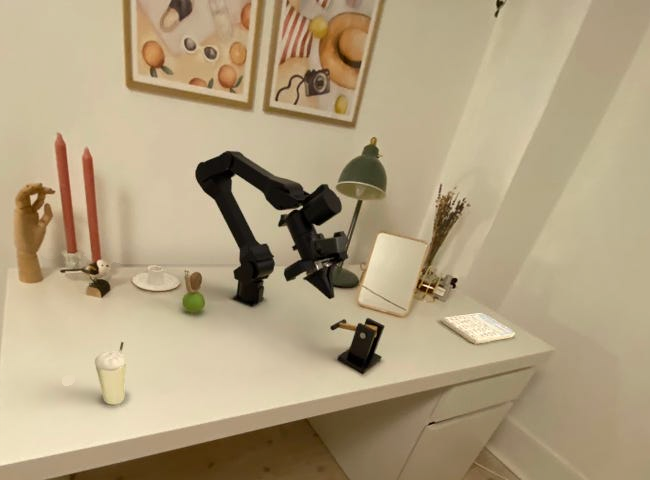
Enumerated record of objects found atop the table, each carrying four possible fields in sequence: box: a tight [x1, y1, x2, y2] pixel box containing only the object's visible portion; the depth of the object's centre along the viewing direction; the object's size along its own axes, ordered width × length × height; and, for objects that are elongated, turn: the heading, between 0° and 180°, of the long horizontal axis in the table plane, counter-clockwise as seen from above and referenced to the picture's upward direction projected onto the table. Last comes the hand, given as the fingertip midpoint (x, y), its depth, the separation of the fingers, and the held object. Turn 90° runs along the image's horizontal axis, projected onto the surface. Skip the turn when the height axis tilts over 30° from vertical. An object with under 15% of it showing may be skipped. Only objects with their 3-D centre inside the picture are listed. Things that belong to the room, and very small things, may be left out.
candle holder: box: [132, 264, 181, 292], centre depth 102 cm, size 12×12×4 cm
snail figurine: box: [181, 269, 206, 314], centre depth 90 cm, size 5×6×12 cm
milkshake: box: [94, 341, 127, 406], centre depth 62 cm, size 4×5×10 cm
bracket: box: [337, 317, 385, 375], centre depth 86 cm, size 7×9×10 cm
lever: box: [329, 319, 377, 337], centre depth 87 cm, size 10×6×2 cm, turn 51°
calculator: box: [441, 312, 516, 345], centre depth 116 cm, size 13×20×2 cm, turn 118°
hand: (331, 298), depth 88 cm, fingers closed
